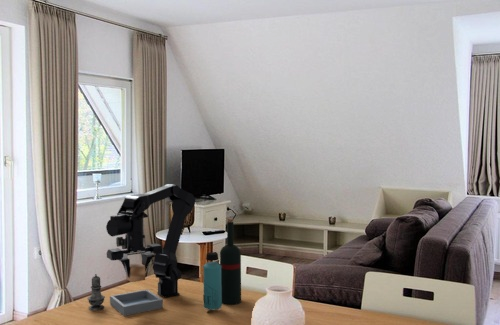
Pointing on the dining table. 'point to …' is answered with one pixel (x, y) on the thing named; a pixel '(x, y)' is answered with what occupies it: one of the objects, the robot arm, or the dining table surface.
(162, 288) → the robot arm
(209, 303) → the beverage bottle
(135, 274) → the light brown block
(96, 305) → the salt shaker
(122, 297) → the low wall corral
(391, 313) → the dining table surface
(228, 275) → the wine bottle
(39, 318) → the dining table surface
